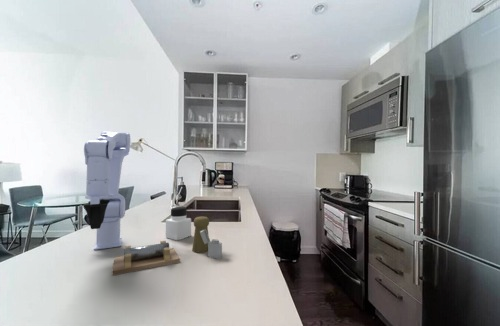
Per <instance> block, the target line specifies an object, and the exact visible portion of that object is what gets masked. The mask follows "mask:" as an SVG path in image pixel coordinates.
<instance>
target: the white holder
mask: <svg viewBox="0 0 500 326" xmlns="http://www.w3.org/2000/svg"><path fill="white" fill-rule="evenodd" d="M200 234H201V237H202V239H203V242H204V244H207V243H208V251H207V257H208V258H215V259H221V258H222V257H223V242H220V240H219V239H216V238H212V239H210V236H208V235H209V233H208V234H207V231H206V229H205V230H203V231H201V232H200Z"/></svg>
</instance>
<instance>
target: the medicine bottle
mask: <svg viewBox="0 0 500 326" xmlns="http://www.w3.org/2000/svg"><path fill="white" fill-rule="evenodd" d="M187 214H188V213H187V207H185V206H183V205H182V206H181V205H180V206H173V207H172V208H171V209H170V218H168V219H166V220H165V238H166V239H170V240H173V241H174V240H175V241H180V240H183V239H186V238H189V237H191V236H192V218H190V217H187ZM188 236H189V237H188Z"/></svg>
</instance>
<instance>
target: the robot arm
mask: <svg viewBox="0 0 500 326" xmlns="http://www.w3.org/2000/svg"><path fill="white" fill-rule="evenodd" d="M130 149H131V134H130V133H129V132H117V131H116V132H113V131H102V132H101V133H100V136H98V137H97V138H96V139H94V140H91V139H90V140H88V141H86V142H85V143H84V147H83V154H84V162H85V165H86V191H85V193H86V195H84V196H85V199H86V200H89V201H88V203H84V204H83V206H82V207H83V209H84V211H85V213H86V214H87V218H88V222H89V223H88V224H89V227H90V229H91V230H96V241H95V242H96V243H95V244H94V246H93V250H94V251H96V250H103V249H104V250H105V249H111V248H116V247H121V246H122V242H123V241H122V240H123V239H122V237H121V219H123V218H124V217H125V215H126V198H125V196H123V195H122V194H120V193H119V189H120V180H121V174H122V166H123V162H124V158H125V157H126V156H128V155H129V152H130Z"/></svg>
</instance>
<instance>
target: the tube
mask: <svg viewBox="0 0 500 326" xmlns="http://www.w3.org/2000/svg"><path fill="white" fill-rule="evenodd" d="M167 247H169V248H170V243H169V242H166V243H161V244H160V243H157V244H156V243H155V244H148V245H143V246H135V247H131V248H128V249H125V248H124V249H123V256H124V263H125V254H130V253H131V261H136V260H142V259H147V258H153V257H159V256H163V249H164V248H167Z"/></svg>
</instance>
